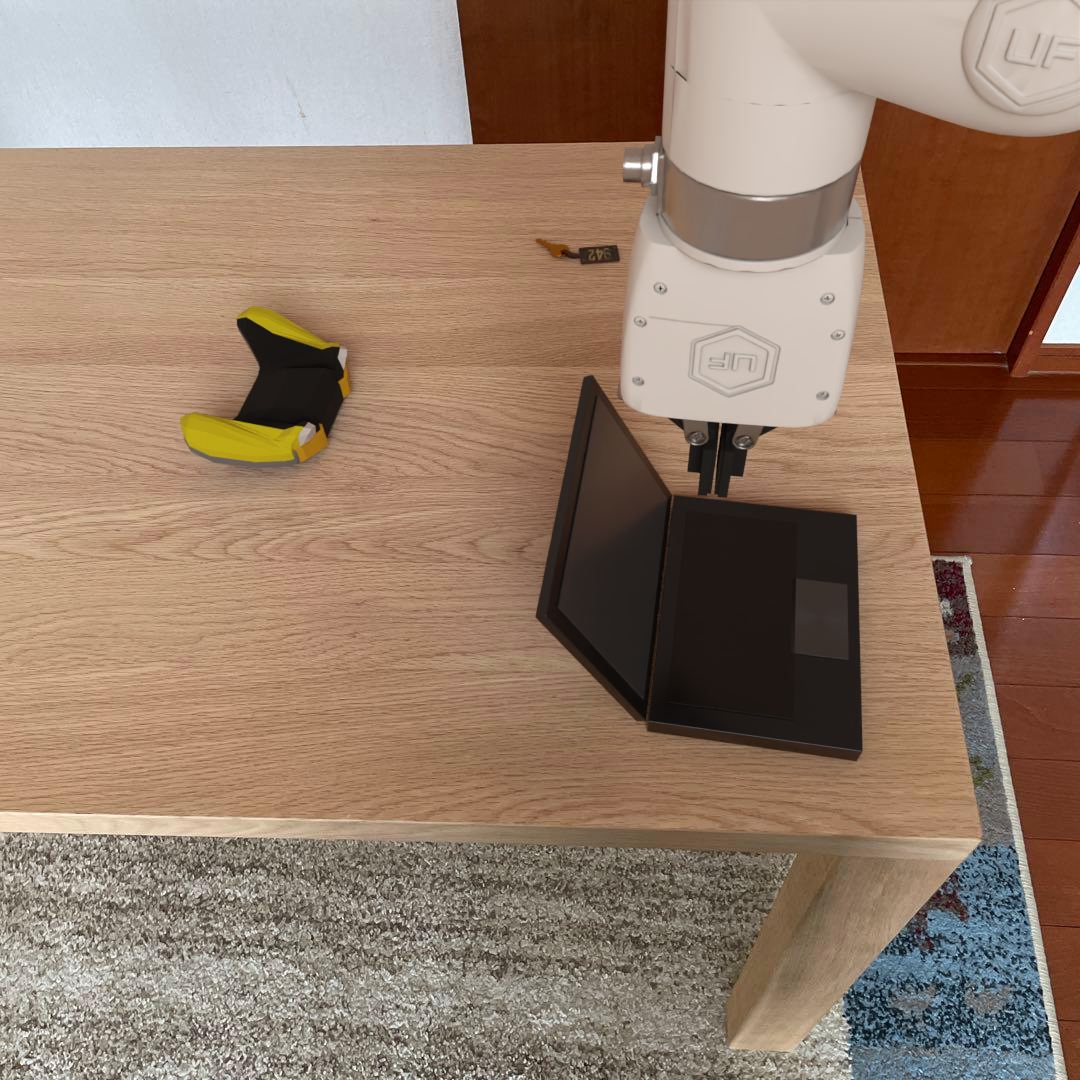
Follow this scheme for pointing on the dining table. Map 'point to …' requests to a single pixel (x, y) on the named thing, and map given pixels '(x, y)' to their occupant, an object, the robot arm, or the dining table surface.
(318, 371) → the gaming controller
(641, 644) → the screen
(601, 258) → the key tag
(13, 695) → the dining table surface
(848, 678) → the laptop
